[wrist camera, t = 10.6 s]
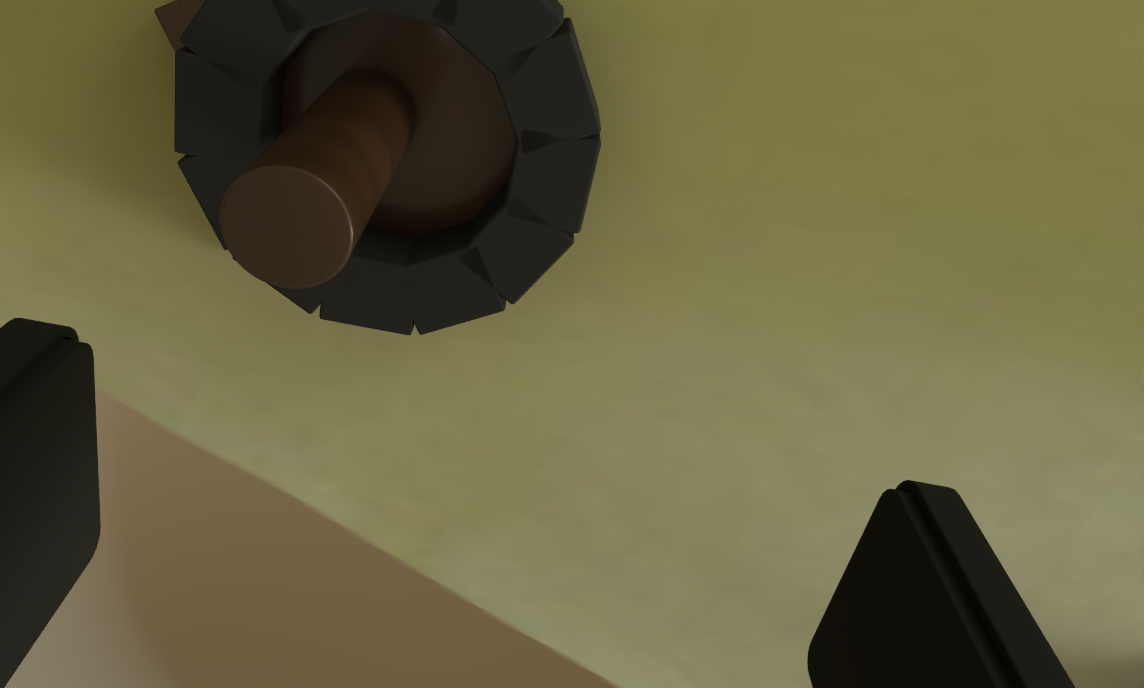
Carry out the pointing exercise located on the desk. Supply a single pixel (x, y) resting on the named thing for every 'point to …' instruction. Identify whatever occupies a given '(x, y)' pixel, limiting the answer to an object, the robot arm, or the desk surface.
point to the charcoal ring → (381, 259)
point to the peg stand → (363, 146)
